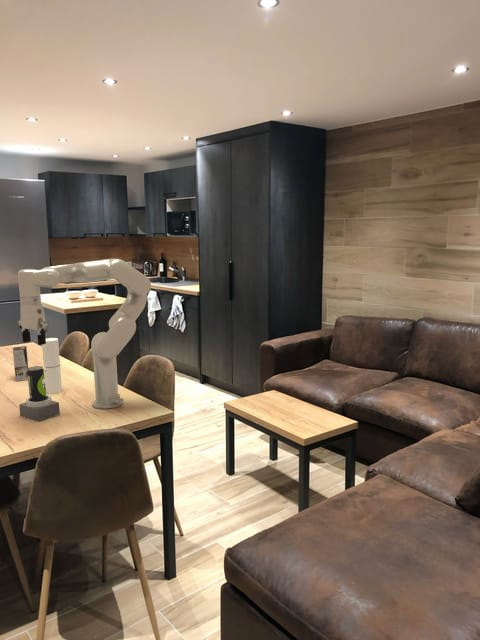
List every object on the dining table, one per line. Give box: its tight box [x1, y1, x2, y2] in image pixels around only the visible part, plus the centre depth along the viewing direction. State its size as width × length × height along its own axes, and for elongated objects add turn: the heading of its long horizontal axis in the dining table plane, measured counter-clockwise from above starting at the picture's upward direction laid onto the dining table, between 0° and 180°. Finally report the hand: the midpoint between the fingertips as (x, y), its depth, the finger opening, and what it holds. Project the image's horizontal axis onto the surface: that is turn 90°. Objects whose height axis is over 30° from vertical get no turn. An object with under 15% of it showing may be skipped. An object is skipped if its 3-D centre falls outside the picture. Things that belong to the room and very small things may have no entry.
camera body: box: [18, 394, 61, 423], centre depth 204 cm, size 12×10×7 cm
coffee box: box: [12, 345, 29, 382], centre depth 257 cm, size 9×6×16 cm
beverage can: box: [27, 365, 47, 402], centre depth 202 cm, size 6×6×15 cm
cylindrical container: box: [41, 337, 63, 395], centre depth 234 cm, size 7×7×25 cm
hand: (34, 343), depth 200 cm, fingers open, 9 cm apart
